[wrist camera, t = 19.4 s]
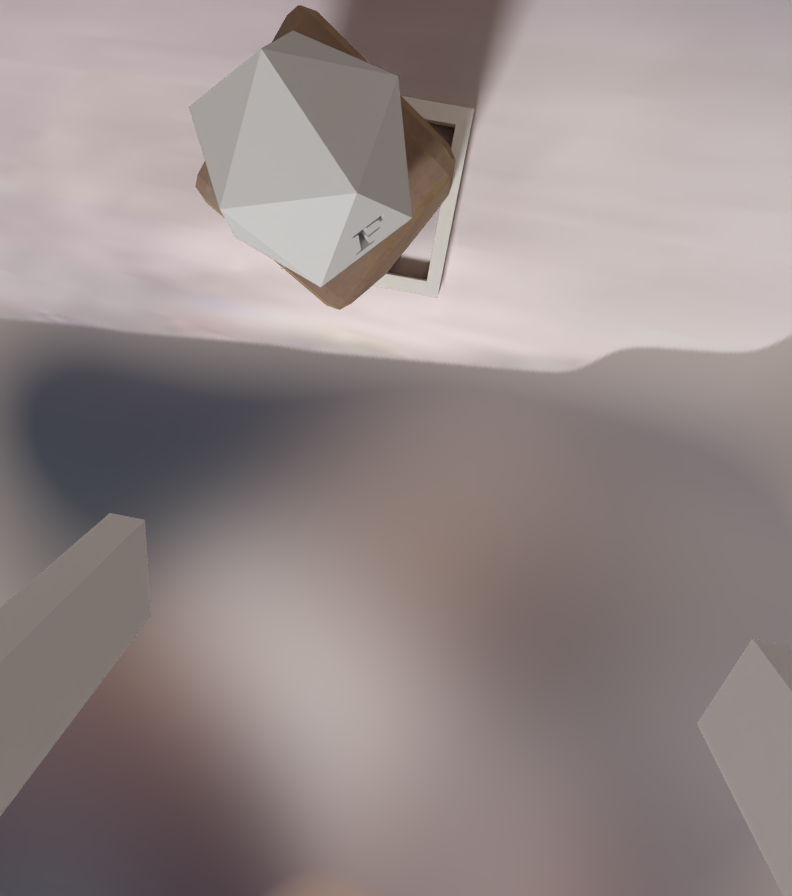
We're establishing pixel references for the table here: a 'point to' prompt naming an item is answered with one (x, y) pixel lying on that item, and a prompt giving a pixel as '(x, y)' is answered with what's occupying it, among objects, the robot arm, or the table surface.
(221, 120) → the die
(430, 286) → the base frame
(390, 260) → the wooden block
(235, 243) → the table surface
